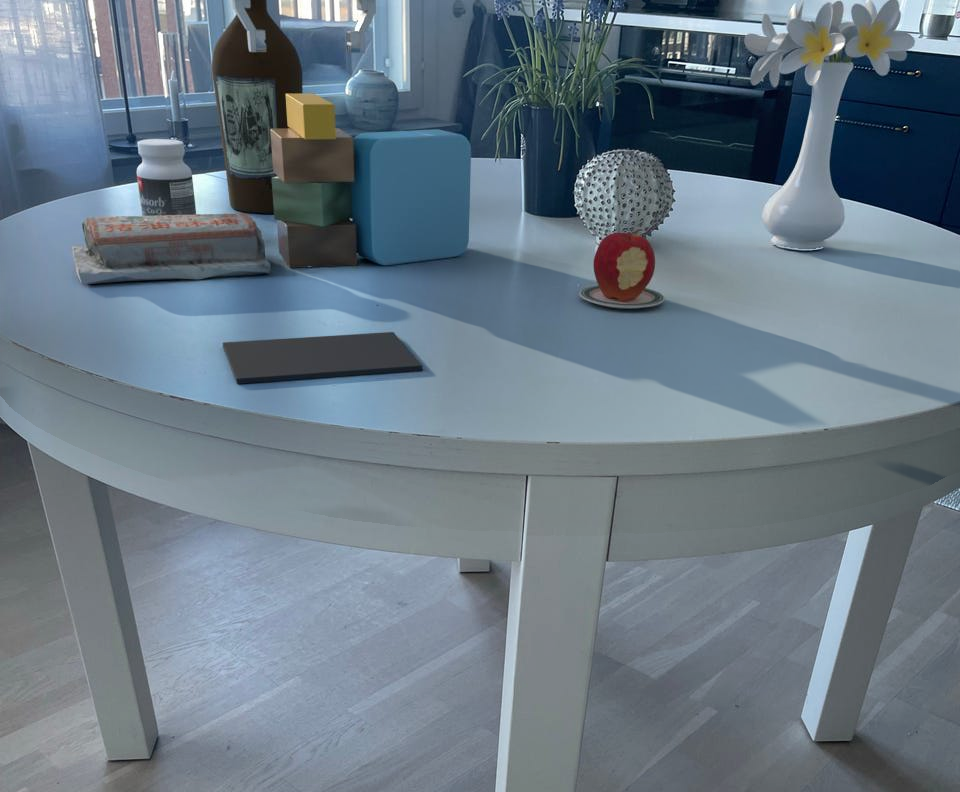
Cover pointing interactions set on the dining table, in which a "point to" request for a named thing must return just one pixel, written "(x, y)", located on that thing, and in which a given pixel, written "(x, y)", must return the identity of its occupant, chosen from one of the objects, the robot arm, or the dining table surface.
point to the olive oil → (253, 105)
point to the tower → (314, 199)
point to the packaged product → (169, 248)
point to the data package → (411, 195)
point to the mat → (318, 357)
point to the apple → (623, 273)
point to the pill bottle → (164, 179)
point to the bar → (311, 116)
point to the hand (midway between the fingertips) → (307, 52)
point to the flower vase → (821, 105)
